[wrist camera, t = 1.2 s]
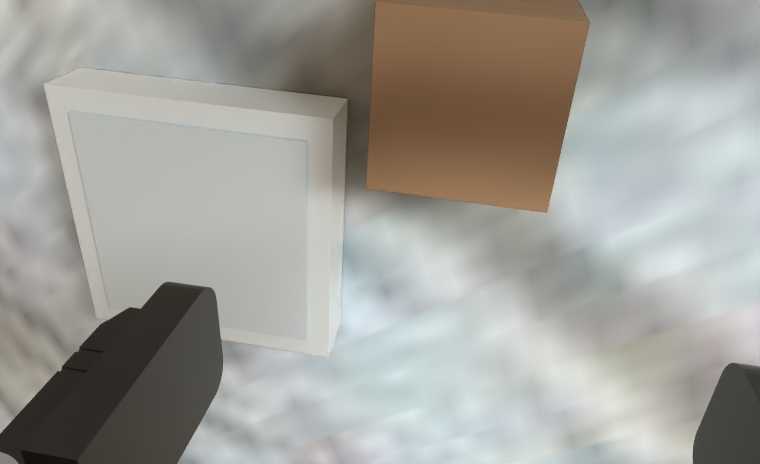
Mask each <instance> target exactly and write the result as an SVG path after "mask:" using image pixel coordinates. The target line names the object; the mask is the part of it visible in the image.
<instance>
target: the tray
mask: <svg viewBox="0 0 760 464" xmlns="http://www.w3.org/2000/svg"><path fill="white" fill-rule="evenodd" d="M44 89H45V93H46V98H47V102H48V107H49V111H50V115H51V120H52V124H53V129H54V133H55V138H56V142H57V146H58V151H59V155H60V160H61V164H62V169H63V173H64V177H65V182H66V186H67V191H68V195H69V199H70V204H71V208H72V213H73V217H74V222H75V226H76V230H77V235H78V239H79V244H80V248H81V253H82V257H83V261H84V266H85V270H86V275H87V279H88V284H89V288H90V292H91V297H92V301H93V306H94V310H95V315H96V318H99V319H105V320H109V319H111V318H112V317H114V316H116V315H117V314H119V313H121V312H122V311H124V310H126V309H127V308H129V307H132V308H139V309H141V308H142V307H143V305H144V304H145V303H146V302H147V301H148V300H149V298H150V297H151V296H152V295H153V294H154V293H155V291H156V290H157V289H158V288H159V287H160V286H161V285H162V284H163V283H165V282H176V283H183V284H190V285H197V286H204V287H210V288H212V289H213V290H214V292H215V294H216V299H217V307H218V316H219V326H220V335H221V339H222V340H228V341H234V342H240V343H246V344H252V345H258V346H264V347H269V348H275V349H281V350H287V351H293V352H299V353H305V354H311V355H316V356H322V357H329V354H330V352H331V349H332V346H333V344H334V341H335V338H336V335H337V333H338V330H339V327H340V322H341V292H342V261H343V230H344V199H345V168H346V137H347V107H348V99H347V98H338V97H330V96H321V95H313V94H304V93H295V92H287V91H278V90H270V89H261V88H252V87H244V86H235V85H227V84H218V83H209V82H201V81H192V80H184V79H175V78H166V77H158V76H149V75H141V74H132V73H123V72H115V71H106V70H98V69H89V68H81V67H80V68H78V69H76V70H73V71H71V72H69V73H67V74H65V75H62V76H60V77H58V78H56V79H54V80H51V81H49V82H47V83H45V84H44Z"/></svg>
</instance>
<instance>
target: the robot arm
mask: <svg viewBox="0 0 760 464" xmlns="http://www.w3.org/2000/svg"><path fill="white" fill-rule="evenodd" d="M79 348H80V349H79V352H75V353H74V354H73V355H72V356H71V357H70V358H69V359H68V360H67V362H66V363H65V364H64V365H63V366H62V370H61V372H58V371H57V373H56V374H55V375H54V376H53V377H52V378H51V379H50V380H49V381H48V382H47V383H46V385H45V386H44V387H43V388H42V389H41V390H40V391H39V392H38V393H37V394H36V395H35V397H34V398H33V399H32V400H31V401H30V402H29V403H28V404H27V405H26V406H25V407H24V409H23V410H22V411H21V412H20V413H19V414H18V415H17V416H16V417H15V418H14V419H13V421H12V422H11V423H10V424H9V425H8V426H7V427H6V428H5V429H4V430H3V432H2V433H1V434H0V464H177V463H178V461H179V459H180V457H181V456H182V454H183V452H184V450H185V448H186V447H187V445H188V443H189V441H190V440H191V438H192V436H193V434H194V432H195V431H196V429H197V427H198V425H199V424H200V422H201V420H202V418H203V416H204V415H205V413H206V411H207V409H208V408H209V406H210V404H211V402H212V400H213V399H214V397H215V395H216V392H217V390H218V387H219V384H220V380H221V376H222V370H223V354H222V344H221V335H220V326H219V316H218V307H217V299H216V294H215V292H214V290H213V289H212V288H210V287H204V286H197V285H190V284H183V283H176V282H165V283H163V284H162V285H161V286H160V287H159V288H158V289H157V290H156V291H155V293H154V294H153V295H152V296H151V297H150V298H149V300H148V301H147V302H146V303H145V304H144V305H143V307H142V308H141V309H139V308H132V307H129V308H127V309H126V310H124V311H122V312H121V313H119V314H117V315H116V316H114V317H112V318H111V319H109V320H107V321H106V322H104V323H102V324H101V325H100V326H99V327H98V328H97V329H96V330H95V331H94V332H93V333H92V334H91V335H90V336H89V338H88V339H87V340H86V341H85V342H84V343H83V344H82V345H81V346H80V347H79ZM693 464H760V367H759V366H752V365H745V364H738V363H731V364H729V365H728V366H726V368H725V369H724V370H723V372H722V374H721V377H720V379H719V381H718V384H717V386H716V388H715V391H714V393H713V395H712V398H711V400H710V402H709V405H708V407H707V410H706V412H705V414H704V417H703V419H702V421H701V424H700V426H699V428H698V431H697V433H696V436H695V440H694V446H693Z"/></svg>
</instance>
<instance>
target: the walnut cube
mask: <svg viewBox="0 0 760 464" xmlns="http://www.w3.org/2000/svg"><path fill="white" fill-rule="evenodd" d="M589 24H590V22H589V20H588V18H587V16H586V14H585V12H584V11H583V9H582V7H581V5H580V3H579V1H578V0H377V1H376V2H375V22H374V42H373V61H372V81H371V101H370V120H369V140H368V159H367V179H366V189H373V190H381V191H388V192H395V193H403V194H410V195H418V196H425V197H433V198H440V199H448V200H455V201H463V202H470V203H478V204H485V205H493V206H500V207H507V208H515V209H522V210H530V211H537V212H545V213H547V210H548V206H549V201H550V197H551V193H552V188H553V184H554V179H555V175H556V170H557V166H558V161H559V157H560V153H561V148H562V144H563V139H564V135H565V130H566V126H567V121H568V117H569V112H570V108H571V104H572V99H573V95H574V90H575V86H576V81H577V77H578V72H579V68H580V64H581V59H582V55H583V50H584V46H585V41H586V37H587V32H588V28H589Z"/></svg>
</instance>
